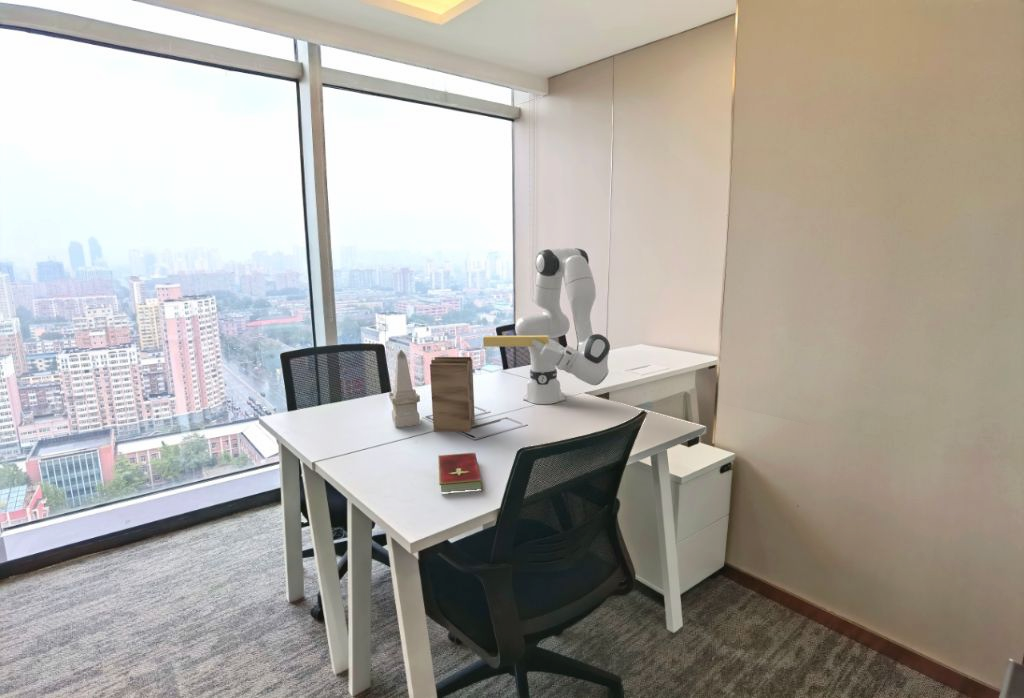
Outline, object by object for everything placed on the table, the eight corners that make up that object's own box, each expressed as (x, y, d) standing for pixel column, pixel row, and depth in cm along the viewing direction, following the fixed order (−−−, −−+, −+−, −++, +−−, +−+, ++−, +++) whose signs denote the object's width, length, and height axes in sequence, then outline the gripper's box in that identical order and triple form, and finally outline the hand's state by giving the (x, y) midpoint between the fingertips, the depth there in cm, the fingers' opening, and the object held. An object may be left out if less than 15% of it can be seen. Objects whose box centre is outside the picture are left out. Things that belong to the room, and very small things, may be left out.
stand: (440, 422, 209) (436, 355, 204) (474, 423, 207) (472, 355, 202) (433, 430, 199) (429, 361, 194) (469, 431, 197) (466, 361, 192)
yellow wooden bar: (485, 344, 197) (484, 335, 196) (548, 344, 194) (548, 335, 193) (483, 346, 194) (483, 337, 193) (548, 346, 190) (548, 336, 190)
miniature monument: (421, 424, 207) (416, 350, 201) (394, 428, 203) (389, 353, 198) (416, 417, 216) (412, 346, 211) (391, 420, 213) (385, 348, 207)
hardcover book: (476, 463, 169) (475, 451, 168) (482, 493, 148) (482, 479, 147) (439, 467, 167) (438, 454, 166) (440, 497, 147) (439, 483, 146)
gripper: (570, 345, 202) (539, 327, 202) (569, 356, 182) (534, 336, 182) (562, 359, 203) (531, 341, 203) (560, 371, 183) (525, 352, 183)
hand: (532, 339), depth 192 cm, fingers closed on yellow wooden bar, 3 cm apart
